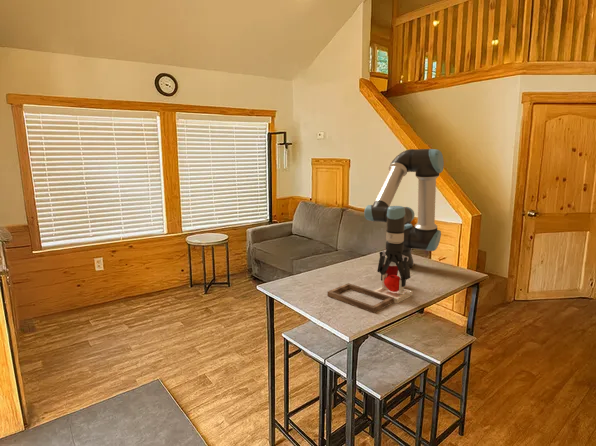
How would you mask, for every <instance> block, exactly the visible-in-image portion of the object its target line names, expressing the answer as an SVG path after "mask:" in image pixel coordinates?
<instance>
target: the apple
mask: <svg viewBox="0 0 596 446" xmlns="http://www.w3.org/2000/svg"><path fill="white" fill-rule="evenodd" d="M400 279H401V277H400V275H398V274H397V275H389V276H387V277H386V278H385V280H384V284H385V286H386V287H387V288H388V289H389V290H390V291H392V292H397V291H399V281H400Z"/></svg>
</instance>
